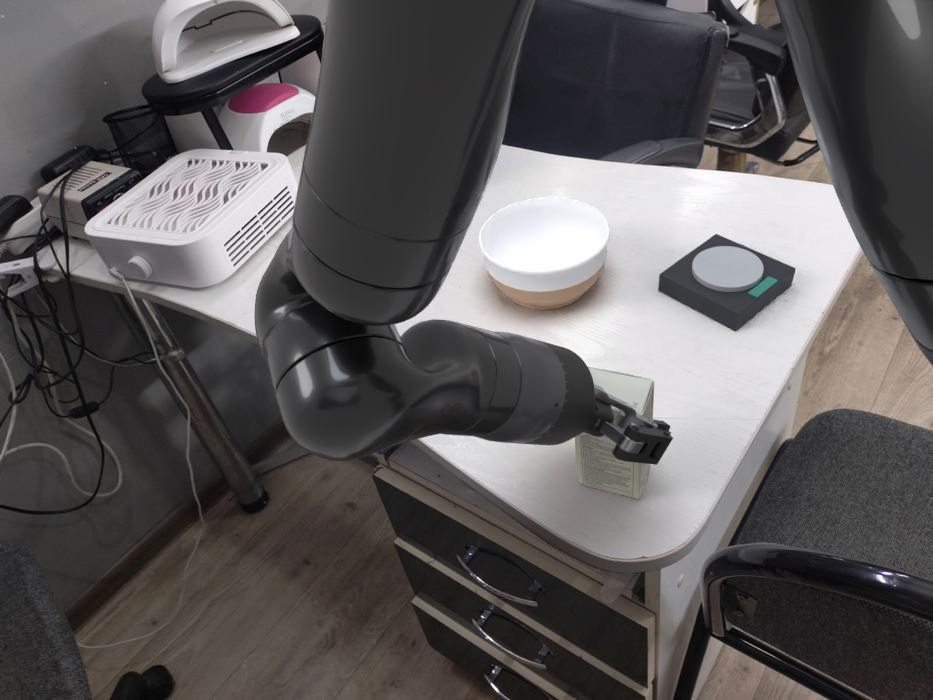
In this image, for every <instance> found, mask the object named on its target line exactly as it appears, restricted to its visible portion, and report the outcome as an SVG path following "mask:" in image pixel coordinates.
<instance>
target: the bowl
mask: <svg viewBox="0 0 933 700" xmlns="http://www.w3.org/2000/svg"><path fill="white" fill-rule="evenodd" d="M610 237H611V226H610V223H609V222H608V220H607V218H606V216H605V215H604V214H603V213H602V212H601V211H600V210H599V209H598V208H596V207H595V206H593V205H592V204H588V203H587V202H584V201H581V200H578V199H574V198H568V197H561V196H541V197H534V198H533V197H531V198H528V199H523V200H519V201H517V202H513V203H510V204H508V205H506V206H504V207H502V208H500V209H499V210H497V211H495V212H494V213H493V214H491V215H490V216H489V217H488V218H487V219H486V221H485V222H484V223H483V224H482V226H481V228H480V231H479V233H478V238H477V241H478V246H479V250H480V251H481V253H482V254H483V263H484V266H485V269H486V272H487V274H488V275H487V276H488V277H489V279H490V281H491V282H492V283H493V284H494V286H496V287H497V289H498V290H499V291H500V292H501V293H503V294H504V295H506V296H507V297H509V298H510V299H511V300H512V301H513V302H514V303H515V304H518V305H519V306H521V307H524V308H527V309H531V310H541V311H547V310H549V311H550V310H556V309H561V308H564V307H567V306H569V305H572V304H574V303H576V302H577V301H578V300H579V299H581V298H582V296H583V295H585V293H586V291H588V290H589V289H591V288H592V286H593V285H594V284H595V283H596V282H597V280H598V279H599V277H600V276H601V275H602V272H603V270H604V267H605V262H606V259H607V256H608V255H607V254H608V247H607V246H608V242H609V241H610Z"/></svg>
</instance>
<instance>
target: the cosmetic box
mask: <svg viewBox="0 0 933 700" xmlns="http://www.w3.org/2000/svg"><path fill="white" fill-rule="evenodd" d="M587 367H588V368H589V370H590V372H591V375H592V378H593V382H594V384H596V385H598V386H600V387H602V388H603V390H604V391H605V392H606V393H608V394H610V395H612V396H614V397H616V398H618V399H620V400H623V401H625V402H627V403H629V404H630V405H631V406H632V407H633V408H634V409H635V410H636V413H637V414H638V415H640V416H643V417H645V418H647V419H654V397H655V380H654V379H652V378H647V377H644V376H639V375H634V374H629V373H624V372H621V371H620V372H618V371H614V370H609V369H604V368H598V367H594V366H593V367H592V366H587ZM612 410H613V414H614V420H615V418H616V417H617V415H618V413H619V411H620V409H618V408H616V407H613V406H612ZM613 422H614V421H613ZM613 422H612V423H613ZM634 424H636V425H637V426H640V425H639V424H637V423H634ZM573 439H574V450H575V451H574V452H575V463H576V476H577V483H578V484H580V485H584V486H588V487H591V488H594V489H598V490H602V491H605V492H608V493H613V494H616V495H620V496H625V497H628V498H631V499H632V498H633V499H637V500H640V499H641V497H642V495H643V491H644V489H645V486H646V483H647V480H648V477H649V473H650V470H651V466H652V464H645V463H636V462H626V461H622V460H618V459H617V458H616V457H615V456H614V455H613V454H612V451H613V449H614V448H615V446H612V445H609V444H607V443H605V442H602V441H600V440H598V439H596V438H593V437H591V436H589V435H585V436H581V435H578V436H576V437H574V438H573Z"/></svg>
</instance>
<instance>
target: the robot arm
mask: <svg viewBox="0 0 933 700" xmlns="http://www.w3.org/2000/svg"><path fill="white" fill-rule="evenodd" d="M536 2H537V0H327V3H326V13H325V25H324V35H323V44H322V52H321V59H320V65H319V66H320V67H319V74H318V79H317V85H316V93H315V98H314V105H313V109H312V115H311V120H310V124H309V129H308V134H307V139H306V144H305V148H304V153H303V154H304V155H303V159H302V164H301V169H300V174H299V179H298V185H297V190H296V195H295V199H294V205H293V212H292V218H291V226H290V229H289V230H288V231H287V233H286V235H285V236H284V237H283V238H282V240H281V242H280V244H279V245H278V246H277V249H276V251H275V253H274V255H273V257H272V259H271V261H269V264H268V266H267V268H265V269H266V270H265V271H264V272H263V275H262V277H261V279H260V281H259V284H258V287H257V289H256V294H255V299H254V300H255V302H254V329H255V336H256V339H257V344H258V347H259V350H260V354H261V356H262V359H263V362H264V365H265V368H266V369H265V370H266V372H267V375H268V378H269V381H270V384H271V387H272V390H273V393H274V397H275V400H276V404H277V407H278V410H279V414H280V416H281V419H282V423H283V425H284V428H285V430H286V432H287V433H288V435H289V437H290V438H291V439H292V440H293V441H294V443H295V444H297V446H299V447H300V448H301V449H303V450H305V451H306V452H308V453H309V454H312V455H313V456H316V457H318V458H320V459H324V460H327V461H332V462H333V461H334V462H348V461H349V462H350V461H353V460H357V459H361V458H365V457H368V456H371V455H373V454H376V453H379V452H381V451H384V450H386V449H389V448H392V447H394V446H397V445H400V444H404V443H407V442H410V441H415V440H420V439H423V438H428V437H430V436H431V437H432V436H436V435H447V436H458V437H459V436H461V437H473V438H478V439H481V440H485V441H488V442H494V443H505V444H519V445H535V446H547V447H548V446H558V445H561V444H564V443H566V442H569V441H571V440H572V439H575V438H574V437H576V436H578V435H581V436H585V435H589V436H591V437H593V438H596V439H598V440H600V441H602V442H605V443H607V444H609V445H612V446H615V448H614V449H613V451H612V454H613V455H614V456H615V457H616V458H617V459H618V460H622V461H626V462H636V463H645V464H651V465H653V466H654V465H655V466H656V465H658V464H659V462H660V461H661V459H662V457H663V456H664V455H665V453H666V451H667V449H669V448H668V447H669V446H670V444H671V443H672V441H673V439H674V437H673V436H672V432H671V431H670V430H671V425H670V424H668V423H667V422H665V420H659V419H654V418H653V419H647V418H645V417H643V416H640V415H638V414H637V413H636V410H635V409H634V408H633V407H632V406H631V405H630V404H629V403H627V402H625V401H623V400H620V399H618V398H616V397H614V396H612V395H610V394H608V393H606V392H605V391H604V390H603V388H602V387H600V386H598V385H596V384H594V382H593V378H592V375H591V372H590V370H589V368H588V367H589V366H588V365H587V364H586V362H585V361H584V360H583V358H582V357H581V356H580V355H578V354H577V353H576V352H574V351H573V350H571V349H569V348H566V347H564V346H560V345H556V344H553V343H549V342H546V341H542V340H540V339H535V338H531V337H527V336H525V335H521V334H518V333H513V332H508V331H507V332H506V331H492V330H489V329H485V328H481V327H478V326H473V325H470V324H466V323H462V322H458V321H454V320H450V319H449V320H448V319H427V320H422V321H420V322H417V323H415V324H413V325H412V326H410V327H408V328H407V329H406V330H405V331H404V332H403V333H402V334H401V335H400V333H399V330H398V329H397V326H396V325H397V324H401V323H404V322H406V321H409V320H411V319H413V318H414V317H416V316H417V315H419V314H420V313H422V312H423V311H424V310H425V309H426V308H428V307H429V305H430V304H431V303H432V302H433V301H434V300H435V298H436V296H437V295H438V293H439V291H440V290H441V288H442V287H443V285H444V283H445V281H446V279H447V277H448V276H449V273H450V270H451V268H452V266H453V264H454V262H455V261H456V258H457V256H458V253H459V251H460V249H461V247H462V244H463V242H464V240H465V238H466V236H467V234H468V231H469V229H470V227H471V224H472V222H473V221H474V218H475V216H476V213H477V211H478V209H479V206H480V205H481V202H482V200H483V198H484V195H485V193H486V190H487V188H488V185H489V182H490V180H491V178H492V175H493V172H494V169H495V167H496V164H497V161H498V157H499V155H500V151H501V148H502V145H503V141H504V137H505V133H506V130H507V126H508V121H509V117H510V111H511V108H512V103H513V98H514V94H515V89H516V88H515V87H516V83H517V78H518V73H519V68H520V63H521V57H522V52H523V47H524V43H525V39H526V36H527V32H528V28H529V24H530V21H531V17H532V14H533V10H534V7H535V5H536ZM774 4H775V7H776V10H777V14H778V16H779V20H780V24H781V27H782V30H783V31H782V32H783V34H784V37H785V40H786V44H787V48H788V51H789V55H790V58H791V62H792V66H793V69H794V73H795V76H796V80H797V83H798V86H799V89H800V92H801V95H802V98H803V102H804V105H805V107H806V111H807V113H808V117H809V119H810V123H811V126H812V129H813V132H814V135H815V138H816V142H817V144H818V147H819V151H820V153H821V156H822V159H823V161H824V164H825V167H826V170H827V173H828V175H829V179H830V181H831V184H832V186H833V188H834V189H833V190H834V192H835V194H836V196H837V199H838V202H839V204H840V206H841V209H842V211H843V213H844V215H845V218H846V220H847V222H848V224H849V226H850V228H851V230H852V233H853V235H854V237H855V239H856V241H857V242H858V243H857V244H859V245H858V246H859V247H860V249H861V250H862V253H863V255H864V256H865V257H866V259H867V261H868V263H869V264H870V266H871V268H872V270H873V271H874V273H875V275H876V276H877V279H878V280H879V282H880V283H881V285H882V287H883V289H884V290H885V292H886V294H887V296H888V298H889V299H890V301H891V303H892V305H893V306H894V308H895V309H896V312H897V313H898V315H899V317H900V318H901V320H902V322H903V323H904V326H905V327H906V328H907V331H908V332H909V334H910V335H911V338H912V339H913V341H914V343H915V344H916V346H917V347H918V349H919V350H920V352H921V353H922V354H923V356H924V357H925V359H926V360H927V362H928V363H929V364H930V365H931V367H933V0H774ZM612 406H613V407H616V408H618V409H620V411H619V413H618V415H617V417H616V418H615V420H614V414H613V410H612ZM613 421H614V422H613ZM612 422H613V423H612ZM634 423H637V424H639V425H640V426H637V425H636V424H634Z"/></svg>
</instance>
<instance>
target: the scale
mask: <svg viewBox="0 0 933 700" xmlns="http://www.w3.org/2000/svg"><path fill="white" fill-rule="evenodd" d="M796 269H797V268H796V267H794V266H792V265H790V264H787V263H784V262H782V261H781V260H777V259H775V258H773V257H771V256H768V255H767V254H765V253H763V252H759V251H757V250H754V249H753V248H750V247H748V246H746V245H743V244H741V243H739V242H736V241H734V240H732V239H729V238H727V237H725V236H722V235H720V234H718V233H715V234H714V235H712V236H711V237H709V238H708V239H706V241H704V242H702V243H701V244H700V245H699V246H697V247H696V248H694V249H693V250H691V251H690V252H688V253H687V254H686V255H684V256H683V257H681V258H680V259H679V260H677V261H676V262H674V263H673V264H672V265H670V266H669V267H667V268H666V269H665V270H663V271H661V273H659V276H658V288H657V289H658V292H660V293H661V294H664V295H666V296H668V297H670V298H671V299H674V300H675V301H677V302H679V303H680V304H683V305H685V306H687V307H689V308H690V309H693V310H695V311H696V312H698V313H700V314H702V315H705V316H707V317H708V318H710V319H711V320H713V321H715V322H717V323H719V324H720V325H723V326H725V327H727V328H729V329H731V330H732V331H734V332H736V331H737V330H739V329H741V327H743V326H744V325H745V324H746V323H748V322H749V321H750V320H751V319H752V318H753V317H755V316H756V315H757V314H759V313H760V312H761V311H762V310H763V309H765V308H766V307H767V306H769V304H771V303H772V302H773V301H774V300H776V299H777V298H778V297H779V296H781V295H782V294H783V293H784V292H785V291H787V290H788V289H790V287H792V286H793V281H794V277H795V273H796Z"/></svg>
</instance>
